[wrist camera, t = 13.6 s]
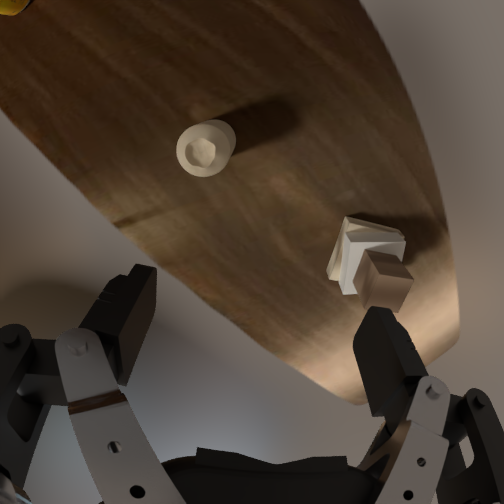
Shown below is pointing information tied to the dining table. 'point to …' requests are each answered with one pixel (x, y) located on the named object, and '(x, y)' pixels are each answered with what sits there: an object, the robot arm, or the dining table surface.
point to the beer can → (12, 6)
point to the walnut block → (382, 280)
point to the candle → (206, 147)
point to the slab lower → (347, 226)
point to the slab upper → (355, 249)
